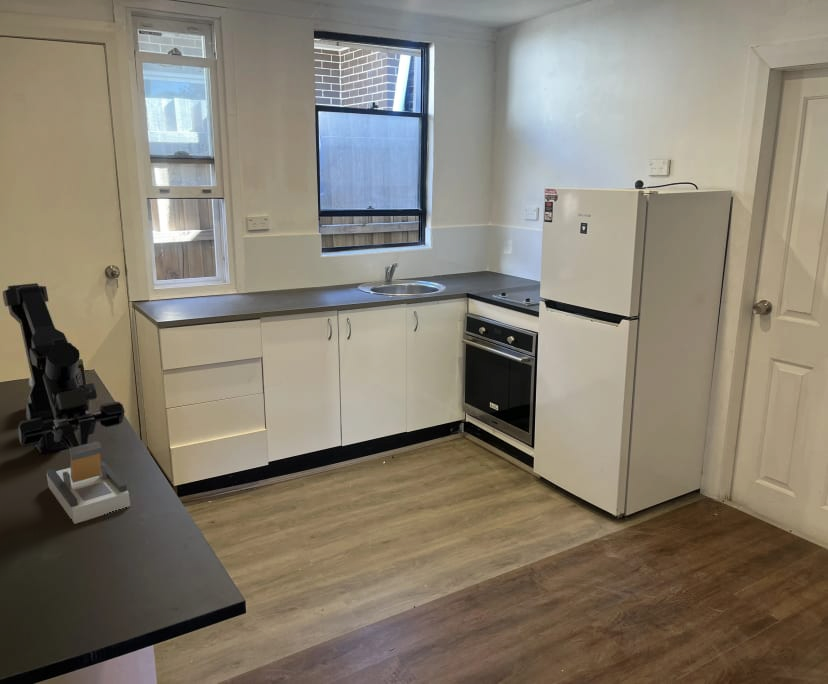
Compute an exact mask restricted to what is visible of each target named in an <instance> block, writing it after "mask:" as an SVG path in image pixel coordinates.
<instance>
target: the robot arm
mask: <svg viewBox="0 0 828 684" xmlns="http://www.w3.org/2000/svg"><path fill="white" fill-rule="evenodd" d="M2 299H3V304H4V306H5V307H8V311H9V315H10V316H11V317H12V318H13V319H14V320H16V321H17V323H18V324H19V325H20V330H21V335H22V339H23V345H24V348H25V354H26V358H27V359H26V360H27V363H28V367H29V371H30V377H31V378H32V382H33V386H32V387H31V388H30V390H29V391H30V392H29V394H28V396H27V400H28V403H26V409H25V411H26V412H25V413H26V414H25V417H26V420H21V421H20V423H19V424H18V431H17V432H18V439H19V443H20V446H30V445H33V444H34V446H35V447H36V449H37V450H38V452H39V453H40V454H46V453H49V452H54V451H59V450H63V449H67V448H68V449H69V448H73V447H77V446H81V445H85V444H88V441H89V436H90V435H93V434H94V433H95V429H96V425H97V424H96V423H97V422H99V423H100V426H102V427H104V428H110V427H114V426H118V425H120V424H123V420H124V416H125V412H126V411H125V408H124V405H123V403H121V402H120V401H113V402H109V403H104V404H101V405H100V407H99V411H96V412H91V413H90V414H87V413H86V411H88V405H87V404H88V401H95V400H96V399H97V398H98V394H97V390H96V387H95V384H94V383H93V382H92V383H91V382H90V383H87V384H85V385H84V386H83V387H82V388H83V389H79V387H78V384H77V381H76V378H75V376H76V374H77V370H78V363H79V359H80V355H81V354H80V350H79V349H77V347H76V346H74V345H73V344H72V343H71V342H69V341H68V339H67V337H66V335H65V333H64V332H62V331H61V330H59V329H57V328H56V327H55V325H54V321H53V319H52V316H51V313H50V311H49V309H48V306H47V303H48V302H49V301H50V300H49V296H48V290H47V286H46V285H45V286H44V285H39V284H38V282H35V283H25V284H16V285H15V284H14V285H8V286H7V290H6V289H4V290H3V291H2ZM76 427H77V428H78V431H77V437H76V433H75V430H74V428H76Z"/></svg>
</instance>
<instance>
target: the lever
mask: <svg viewBox="0 0 828 684" xmlns="http://www.w3.org/2000/svg"><path fill="white" fill-rule="evenodd" d="M68 449H69V457H70V468H71V479H72V482H73V483H74V482H78V481H82V480H85V479H89V478H92V477H96V476H99V475H100V458H101V454H102V446H101V443H100V442H99V440H98V441H94V442H93V441H92V442H89V443H87V444H85V445H81V446H77V447H73V448H68Z"/></svg>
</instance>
